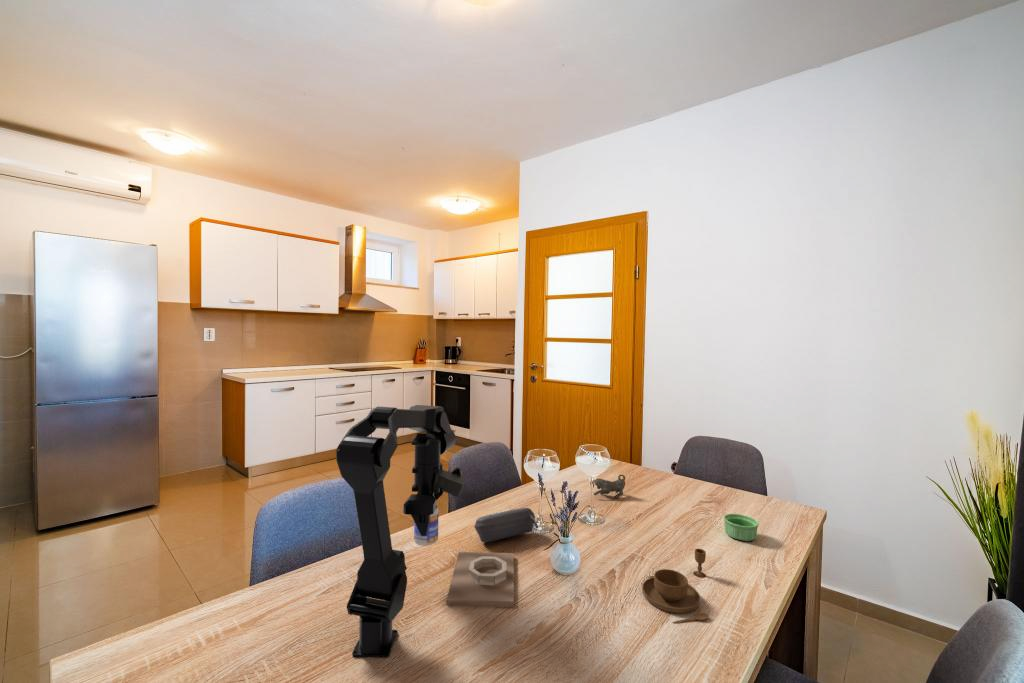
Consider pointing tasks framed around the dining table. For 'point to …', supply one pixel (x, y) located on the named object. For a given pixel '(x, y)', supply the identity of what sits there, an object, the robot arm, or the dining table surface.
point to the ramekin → (741, 527)
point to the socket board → (483, 580)
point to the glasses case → (505, 524)
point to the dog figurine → (610, 486)
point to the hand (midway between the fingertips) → (426, 529)
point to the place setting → (675, 590)
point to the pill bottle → (428, 531)
